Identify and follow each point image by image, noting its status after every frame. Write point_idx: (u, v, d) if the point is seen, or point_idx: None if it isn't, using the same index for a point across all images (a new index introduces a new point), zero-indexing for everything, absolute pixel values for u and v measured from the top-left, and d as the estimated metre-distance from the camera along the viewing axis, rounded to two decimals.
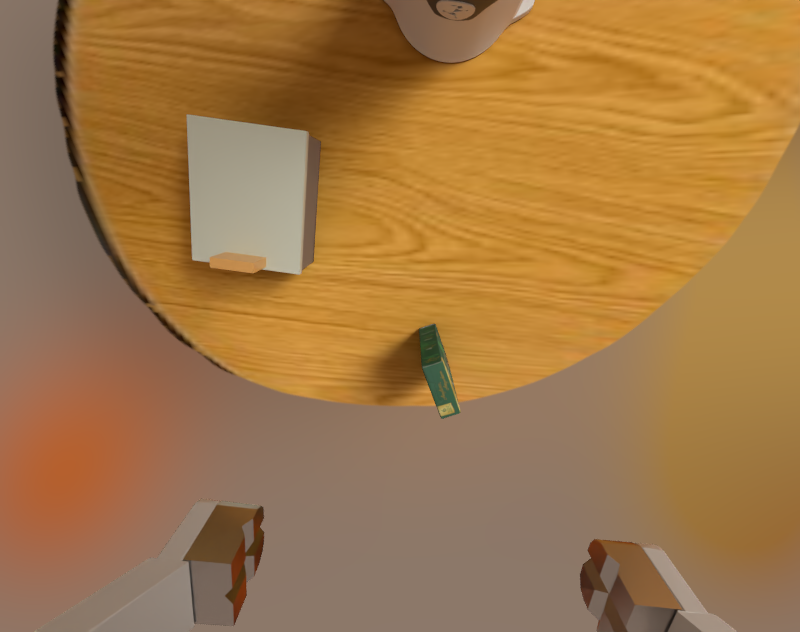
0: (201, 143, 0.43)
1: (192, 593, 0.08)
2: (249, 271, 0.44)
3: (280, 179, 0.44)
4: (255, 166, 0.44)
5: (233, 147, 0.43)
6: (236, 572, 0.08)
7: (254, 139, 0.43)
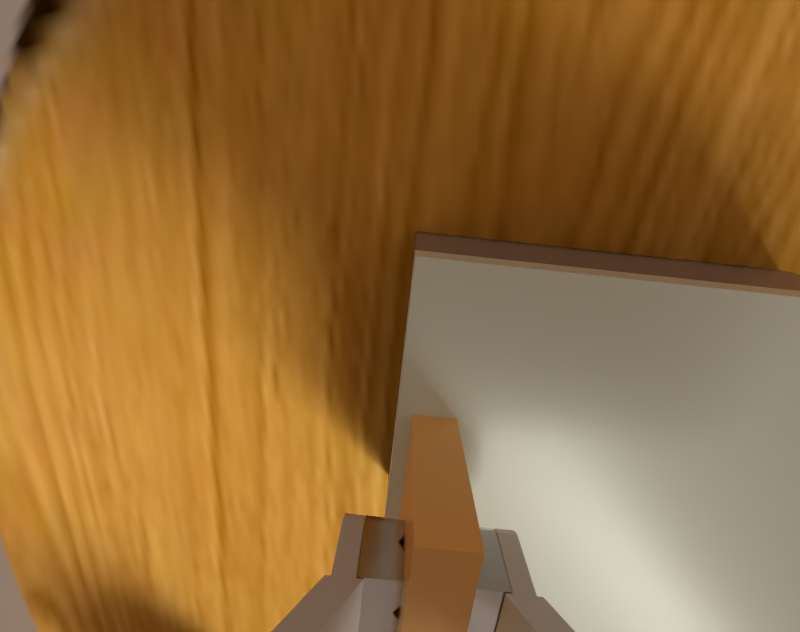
0: None
1: (360, 610, 0.08)
2: None
3: (714, 620, 0.12)
4: (784, 556, 0.11)
5: None
6: None
7: None
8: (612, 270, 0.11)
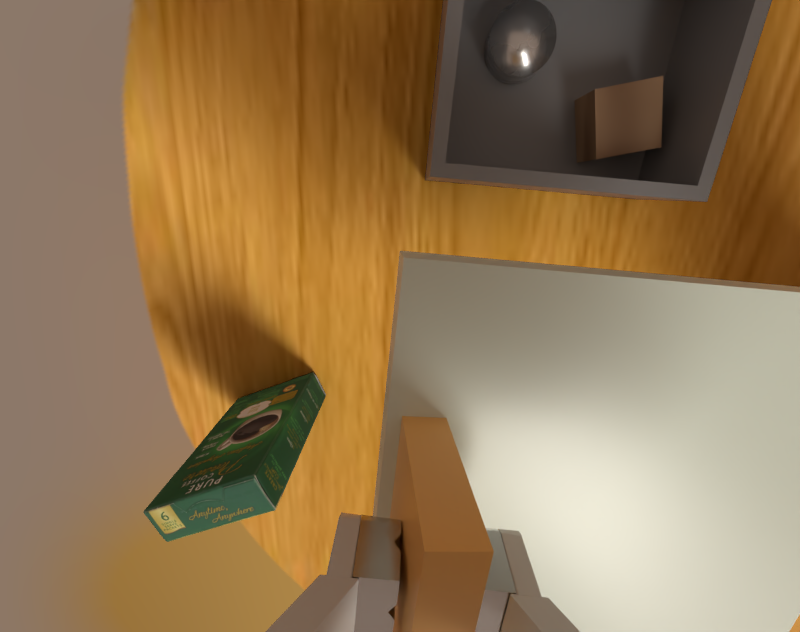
0: None
1: (355, 609, 0.08)
2: None
3: (680, 587, 0.13)
4: (738, 522, 0.13)
5: None
6: None
7: None
8: None
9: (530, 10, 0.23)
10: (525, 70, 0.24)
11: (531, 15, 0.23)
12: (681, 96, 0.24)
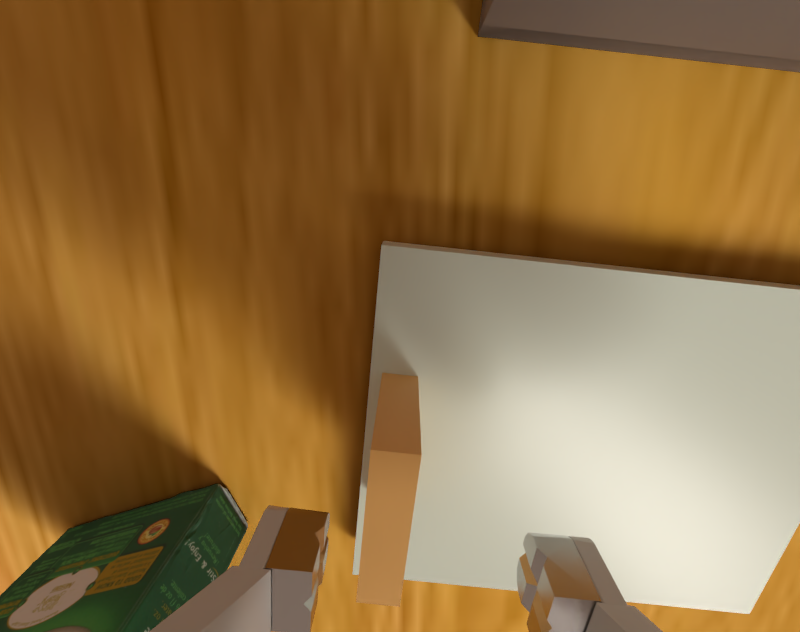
0: None
1: (271, 601, 0.08)
2: (363, 590, 0.10)
3: (637, 550, 0.15)
4: (689, 492, 0.14)
5: (762, 438, 0.13)
6: (314, 580, 0.08)
7: (767, 497, 0.14)
8: None
9: None
10: None
11: None
12: None
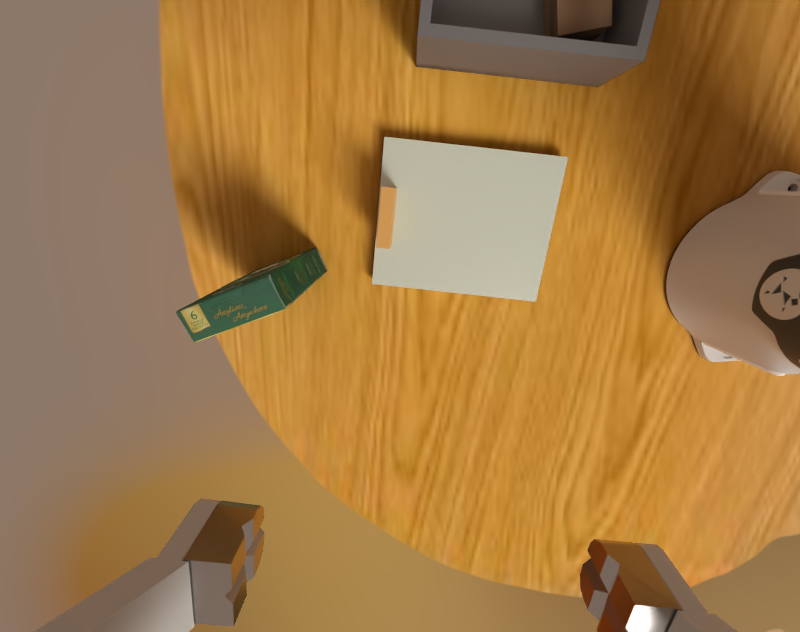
0: (533, 172, 0.34)
1: (192, 593, 0.08)
2: (378, 242, 0.33)
3: (485, 268, 0.37)
4: (502, 239, 0.36)
5: (525, 213, 0.36)
6: (236, 572, 0.08)
7: (532, 240, 0.36)
8: None
9: None
10: None
11: None
12: None
